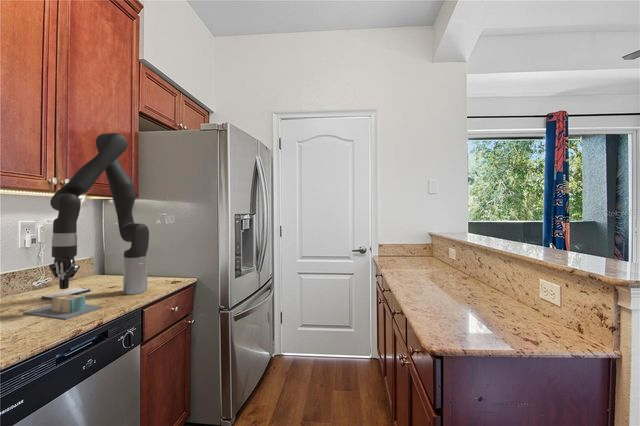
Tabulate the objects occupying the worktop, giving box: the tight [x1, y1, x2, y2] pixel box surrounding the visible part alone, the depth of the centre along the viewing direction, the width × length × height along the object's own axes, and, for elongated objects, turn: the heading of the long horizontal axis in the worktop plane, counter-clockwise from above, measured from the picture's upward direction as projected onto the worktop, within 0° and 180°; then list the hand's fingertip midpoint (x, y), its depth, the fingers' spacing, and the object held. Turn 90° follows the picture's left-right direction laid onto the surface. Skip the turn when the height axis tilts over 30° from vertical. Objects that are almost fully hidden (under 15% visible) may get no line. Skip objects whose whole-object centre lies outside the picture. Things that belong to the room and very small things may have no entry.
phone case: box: [41, 286, 91, 301], centre depth 136 cm, size 9×2×16 cm
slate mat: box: [22, 303, 104, 320], centre depth 115 cm, size 14×21×1 cm, turn 77°
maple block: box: [51, 294, 86, 313], centre depth 115 cm, size 5×5×10 cm
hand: (63, 288), depth 115 cm, fingers closed
